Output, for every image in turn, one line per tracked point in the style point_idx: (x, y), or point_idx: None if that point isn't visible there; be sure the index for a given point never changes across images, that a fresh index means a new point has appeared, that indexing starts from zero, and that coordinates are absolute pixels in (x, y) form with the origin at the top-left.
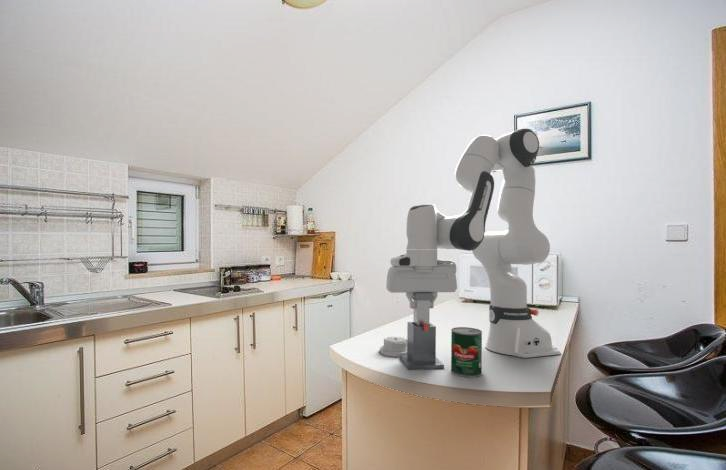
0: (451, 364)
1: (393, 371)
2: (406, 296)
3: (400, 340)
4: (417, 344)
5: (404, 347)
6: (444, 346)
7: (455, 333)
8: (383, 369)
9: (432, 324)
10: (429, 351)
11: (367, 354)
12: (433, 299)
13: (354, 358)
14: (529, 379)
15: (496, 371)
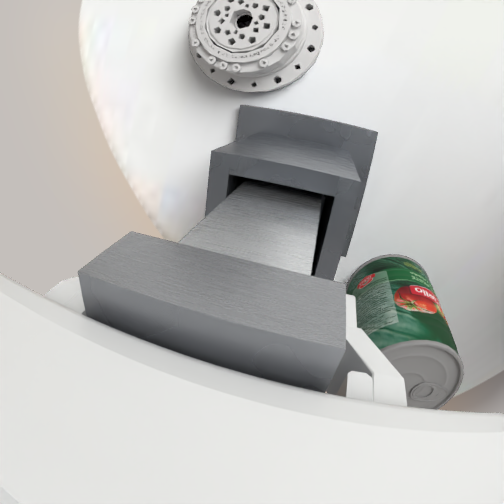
0: (351, 289)
1: (182, 222)
2: (72, 281)
3: (254, 45)
4: None
5: (271, 69)
6: (489, 35)
7: None
8: (159, 199)
9: (337, 260)
10: None
11: (148, 47)
12: (331, 393)
13: (105, 86)
14: (471, 365)
15: (461, 313)
